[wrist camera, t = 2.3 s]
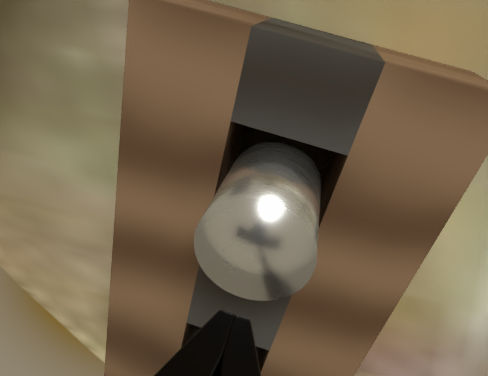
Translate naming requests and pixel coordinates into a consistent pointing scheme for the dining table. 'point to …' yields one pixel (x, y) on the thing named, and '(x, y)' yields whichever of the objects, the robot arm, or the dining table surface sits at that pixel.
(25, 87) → the dining table surface
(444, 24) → the dining table surface
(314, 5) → the dining table surface
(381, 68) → the walnut block
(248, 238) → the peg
